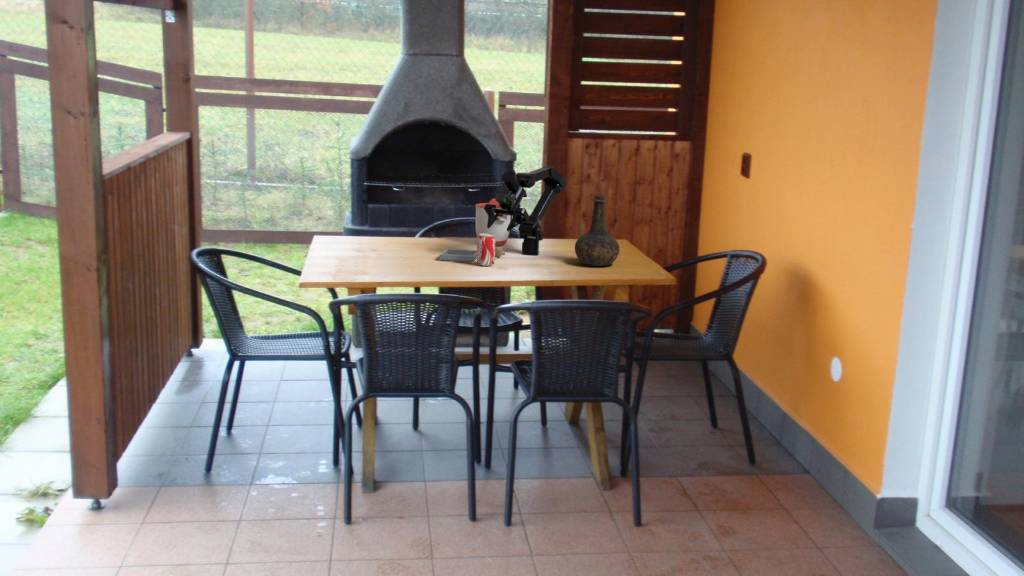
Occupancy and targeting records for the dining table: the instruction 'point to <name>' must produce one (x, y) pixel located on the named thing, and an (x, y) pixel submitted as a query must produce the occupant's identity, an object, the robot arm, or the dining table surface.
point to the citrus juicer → (498, 226)
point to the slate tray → (458, 255)
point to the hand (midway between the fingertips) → (497, 229)
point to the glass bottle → (597, 239)
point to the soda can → (486, 249)
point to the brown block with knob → (498, 252)
